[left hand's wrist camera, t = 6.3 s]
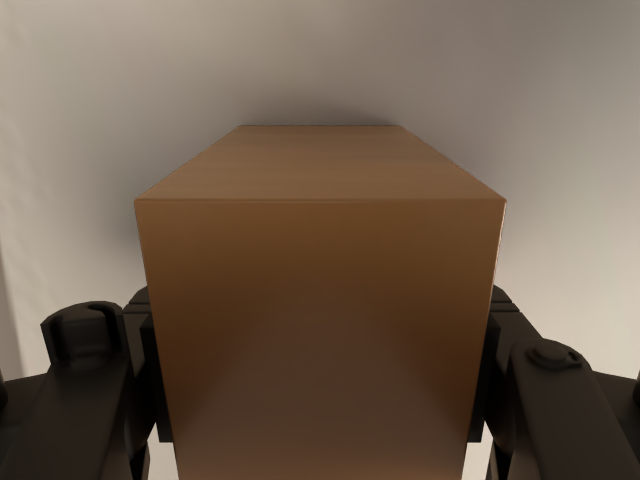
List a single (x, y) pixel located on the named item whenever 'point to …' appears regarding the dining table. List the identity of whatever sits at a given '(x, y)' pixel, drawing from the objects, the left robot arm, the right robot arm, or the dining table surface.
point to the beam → (320, 304)
